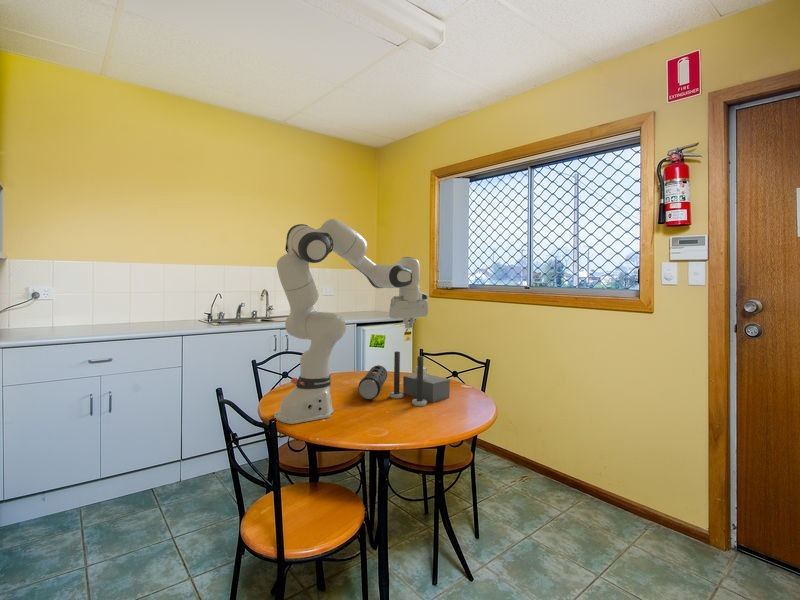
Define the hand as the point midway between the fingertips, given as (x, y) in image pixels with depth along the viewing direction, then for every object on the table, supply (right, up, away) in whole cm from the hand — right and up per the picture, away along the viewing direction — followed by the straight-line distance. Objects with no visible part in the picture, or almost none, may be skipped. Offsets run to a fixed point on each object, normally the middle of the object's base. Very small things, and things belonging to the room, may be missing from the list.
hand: (408, 328), depth 176 cm
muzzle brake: (-16, -31, +12) cm, 36 cm away
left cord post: (-5, -31, +7) cm, 32 cm away
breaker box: (+8, -31, +10) cm, 33 cm away
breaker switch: (+5, -23, +7) cm, 24 cm away
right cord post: (+4, -31, -3) cm, 32 cm away
